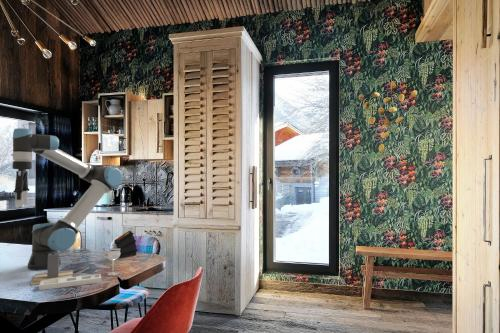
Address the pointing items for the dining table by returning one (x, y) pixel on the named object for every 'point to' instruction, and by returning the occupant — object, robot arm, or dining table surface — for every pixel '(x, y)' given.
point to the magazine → (126, 244)
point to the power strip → (69, 281)
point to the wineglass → (113, 257)
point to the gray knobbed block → (53, 265)
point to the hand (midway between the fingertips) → (21, 205)
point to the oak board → (43, 276)
